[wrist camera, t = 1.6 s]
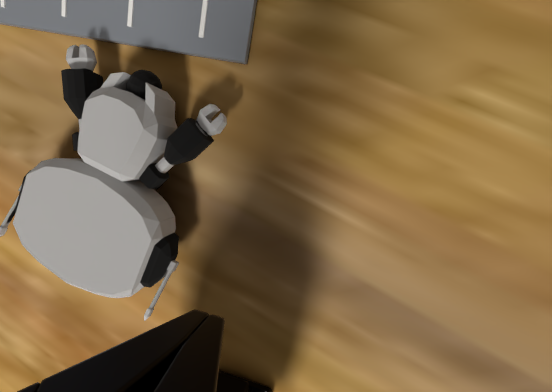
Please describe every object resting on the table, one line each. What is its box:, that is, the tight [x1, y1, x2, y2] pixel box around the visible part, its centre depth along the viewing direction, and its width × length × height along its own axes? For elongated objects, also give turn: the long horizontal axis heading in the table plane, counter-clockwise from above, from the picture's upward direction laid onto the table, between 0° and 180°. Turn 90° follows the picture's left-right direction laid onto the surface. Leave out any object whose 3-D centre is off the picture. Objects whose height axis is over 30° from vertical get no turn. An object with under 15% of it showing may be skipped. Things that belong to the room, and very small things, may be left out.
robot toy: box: [0, 45, 227, 321], centre depth 19 cm, size 12×4×15 cm
